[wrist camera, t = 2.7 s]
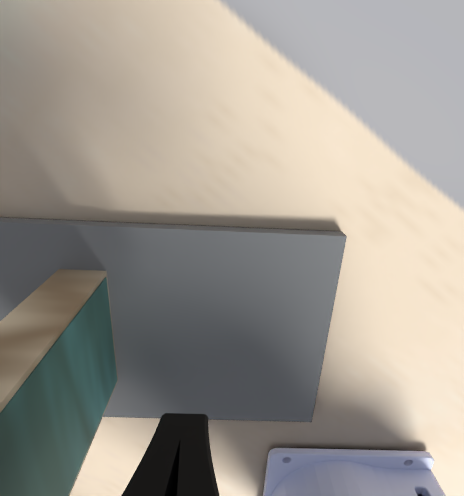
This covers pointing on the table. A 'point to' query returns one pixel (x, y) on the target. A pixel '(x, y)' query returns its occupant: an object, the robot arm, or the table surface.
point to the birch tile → (54, 382)
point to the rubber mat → (195, 310)
